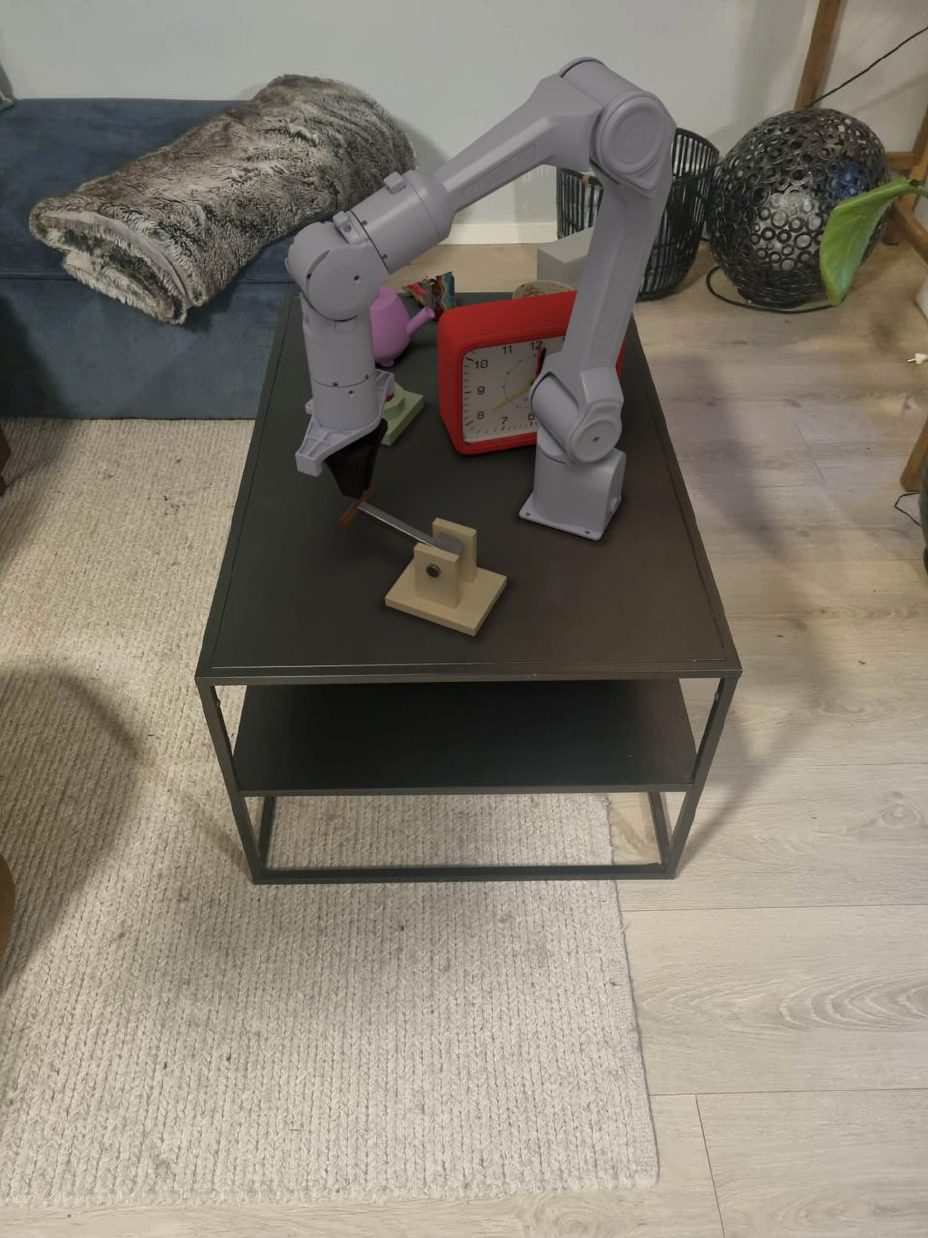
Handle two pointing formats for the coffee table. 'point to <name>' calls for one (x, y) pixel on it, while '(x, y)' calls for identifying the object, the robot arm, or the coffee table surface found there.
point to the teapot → (393, 325)
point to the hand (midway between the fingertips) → (355, 490)
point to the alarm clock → (498, 367)
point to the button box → (400, 412)
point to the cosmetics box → (564, 258)
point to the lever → (397, 525)
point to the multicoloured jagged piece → (434, 293)
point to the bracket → (447, 583)
